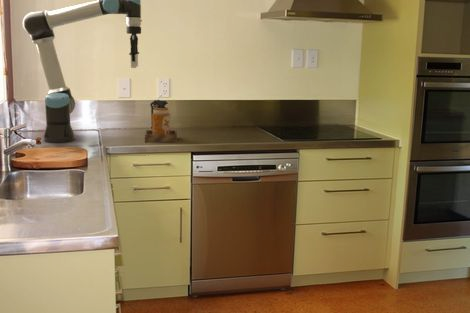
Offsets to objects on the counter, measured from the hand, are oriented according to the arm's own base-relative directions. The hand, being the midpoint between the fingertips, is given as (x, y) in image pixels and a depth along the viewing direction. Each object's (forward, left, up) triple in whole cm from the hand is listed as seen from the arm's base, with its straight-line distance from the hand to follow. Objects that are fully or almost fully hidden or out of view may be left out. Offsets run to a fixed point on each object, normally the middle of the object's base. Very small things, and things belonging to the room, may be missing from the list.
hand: (134, 67), depth 290 cm
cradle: (+14, -15, -37) cm, 42 cm away
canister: (+13, -15, -36) cm, 41 cm away
